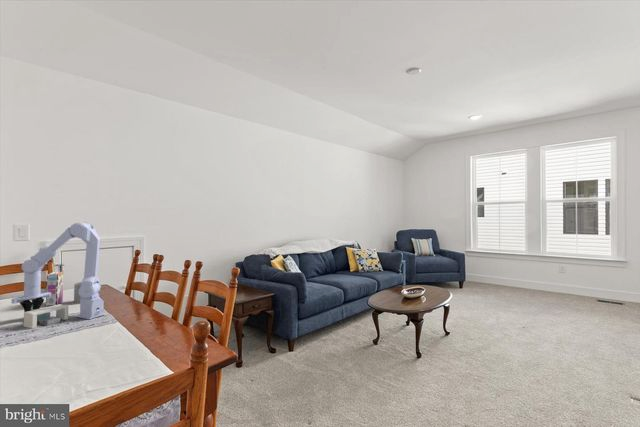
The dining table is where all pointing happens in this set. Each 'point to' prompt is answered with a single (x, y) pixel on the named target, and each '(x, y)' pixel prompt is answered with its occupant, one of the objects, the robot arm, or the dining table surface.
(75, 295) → the cup
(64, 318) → the plinth shelf
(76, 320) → the dining table surface
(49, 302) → the candy bar box
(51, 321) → the steel token
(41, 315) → the slat blade
